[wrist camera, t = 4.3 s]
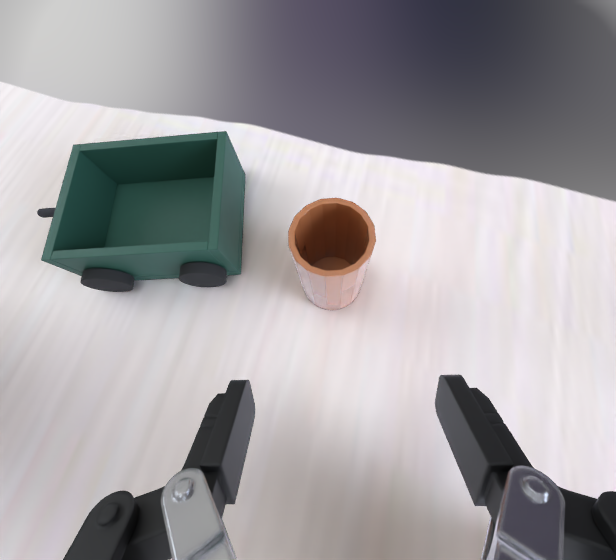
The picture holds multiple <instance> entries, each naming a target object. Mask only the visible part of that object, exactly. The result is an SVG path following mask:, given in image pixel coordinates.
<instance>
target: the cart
mask: <svg viewBox="0 0 616 560" xmlns="http://www.w3.org/2000/svg"><path fill="white" fill-rule="evenodd" d="M244 191H245V173H244V171H243V169H242V166H241V164H240V162H239V159H238V157H237V155H236V152H235V150H234V148H233V146H232V143H231V141H230V139H229V136H228V134H227V132H226V131H224V132H212V133H200V134H189V135H178V136H167V137H156V138H145V139H133V140H122V141H111V142H100V143H89V144H78V145H73V148H72V152H71V155H70V159H69V162H68V166H67V170H66V173H65V177H64V180H63V184H62V187H61V191H60V194H59V198H58V202H57V205H56V209H55V212H54V216H53V219H52V223H51V226H50V230H49V234H48V237H47V241H46V244H45V248H44V251H43V255H42V259H41V260H42V261H45V262H47V263H50V264H52V265H55V266H57V267H60V268H63V269H65V270H68V271H70V272H73V273H75V274H78V275H80V276H82V273H83V271H84V270H86V269H92V268H103V269H112V270H117V271H121V272H125V273H127V274H130V275H132V276H133V277H134V279H135V280H149V279H167V278H179V273H180V267H181V266H182V265H183V264H186V263H192V262H204V263H211V264H215V265H219V266H221V267H223V268H225V269H226V271H227V275H239V274H241V257H242V235H243V213H244Z"/></svg>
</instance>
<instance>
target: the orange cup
mask: <svg viewBox="0 0 616 560" xmlns="http://www.w3.org/2000/svg"><path fill="white" fill-rule="evenodd" d="M288 241H289V249H290V252H291V255H292V258H293V261H294V263H295V266H296V269H297V272H298V275H299V278H300V281H301V284H302V287H303V289H304V291H305V294H306V296H307V297H308V299H309V300H310V301H311V302H312V303H313V304H315V305H316V306H318V307H320V308H323V309H327V310H337V309H341V308H344V307H346V306H348V305H349V304H351V303H352V302H353V301H354V300H355V298H356V297H357V296H358V294H359V291H360V288H361V285H362V282H363V279H364V276H365V273H366V270H367V267H368V264H369V261H370V258H371V255H372V251H373V248H374V245H375V242H376V236H375V228H374V224H373V222H372V221H371V219H370V217H369V216H368V214H367V212H366V211H365V210H363V209H362V208H360V207H359V206H358V205H356V204H355V203H353V202H351V201H347V200H344V199H340V198H327V199H320V200H317V201H315V202H313V203H310V204H308V205H306V206H305V207H304V208H303V209H302V210H301V211H300V212H299V213H298V214H297V215H296V216H295V217H294V219H293V221H292V224H291V226H290V228H289V231H288Z"/></svg>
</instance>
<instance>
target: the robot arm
mask: <svg viewBox="0 0 616 560" xmlns="http://www.w3.org/2000/svg"><path fill="white" fill-rule="evenodd" d="M435 407H436V412H437V416H438V418H439V421H440V423H441V426H442V428H443V430H444V433H445V435H446V438H447V440H448V442H449V445H450V447H451V450H452V452H453V454H454V457H455V459H456V462H457V464H458V466H459V469H460V471H461V474H462V476H463V478H464V481H465V483H466V486H467V488H468V490H469V493H470V495H471V498H472V500H473V502H474V505H475V506H487V509H488V511H489V513H490V515H491V518H490V521H489V525H488V530H487V534H486V539H485V543H484V548H483V552H482V557H481V560H616V492H613V491H609V492H604V493H602V494H601V495H600V496H599V498H598V499H595V498H592V497H588V496H585V495H582V494H578V493H575V492H572V491H568V490H566V489H563V488H560V487H558V486H557V485H556V484H555V483H554V482H553V481H552V480H551V479H550V478H549V477H547V476H546V475H545V474H543V473H542V472H540V471H538V470H536V469H534V468H533V466H532V465H531V464H530V462H529V461H528V459H527V457H526V456H525V454H524V453H523V451H522V450H521V448H520V447H519V445H518V443H517V442H516V440H515V439H514V437H513V436H512V434H511V432H510V431H509V429H508V428H507V426H506V425H505V424H504V423H503V420H502V418H501V417H500V415H499V414H498V413H497V410H496V409H495V407H494V406H493V404H492V403H491V401H490V400H489V398H488V397H487V396H485V395H484V394H483V393H482V392H481V391H480V390H478V389H477V388H469V387H468V385H467V383H466V382H465V380H464V378H463V377H462V376H461V375H441V376H440V377H439V382H438V388H437V393H436V399H435ZM254 418H255V403H254V399H253V394H252V390H251V385H250V382H249V380H231V381H230V383H229V385H228V388H227V391H226V393H224V394H217V396H216V397H215V398H214V399H213V400H212V401H211V402H210V404H209V406H208V408H207V411H206V413H205V415H204V418H203V420H202V423H201V425H200V428H199V430H198V433H197V435H196V437H195V440H194V442H193V445H192V447H191V450H190V452H189V454H188V457H187V459H186V462H185V464H184V466H183V468H182V470H181V471H180V472H178V473H177V474H176V475H174V476H173V477H172V478H171V479H170V480H169V481H168V483H167V484H166V486H164V487H162V488H160V489H158V490H155V491H152V492H149V493H146V494H143V495H141V496H138V497H135V498H134V497H133V496H132V494H131V493H129V492H127V491H117V492H114V493H112V494H110V495H108V496H106V497H105V498H104V499H102V500H101V501H100V502H99V503H98V504H97V505H96V506H95V507H94V508H93V509H92V510H91V512H90V513H89V515H88V516H87V518H86V520H85V521H84V523H83V525H82V527H81V529H80V530H79V532H78V534H77V536H76V538H75V539H74V541H73V543H72V545H71V546H70V548H69V550H68V552H67V554H66V555H65V557H64V559H63V560H169V559H171V558H172V560H237V558H236V556H235V553H234V550H233V548H232V545H231V542H230V539H229V537H228V534H227V531H226V528H225V526H224V523H223V520H222V516H223V512H224V508H225V504H235V501H236V496H237V492H238V488H239V483H240V479H241V475H242V470H243V466H244V462H245V457H246V453H247V449H248V444H249V440H250V436H251V431H252V427H253V423H254Z"/></svg>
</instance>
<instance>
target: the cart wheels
mask: <svg viewBox="0 0 616 560" xmlns="http://www.w3.org/2000/svg"><path fill="white" fill-rule="evenodd" d="M55 209H56V208H45V209H39V210H38V212H37V213H38V215H39V216H40V217H53V216H54V212H55ZM226 278H227V271H226V269H225V268H223V267H221V266H219V265H215V264H211V263H204V262H192V263H186V264H183V265H182V266H181V267H180V273H179V280H180V281H181V282H183V283H186V284H189V285H193V286H199V287H216V286H221V285H224V284H225V283H226ZM134 280H135V279H134V277H133V276H132V275H130V274H127V273H125V272H121V271H117V270H112V269H103V268H92V269H86V270H84V271H83V273H82V278H81V284H83V285H84V286H87V287H90V288H93V289H98V290H103V291H113V292H123V291H130V290H132V289H133V286H134Z"/></svg>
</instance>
